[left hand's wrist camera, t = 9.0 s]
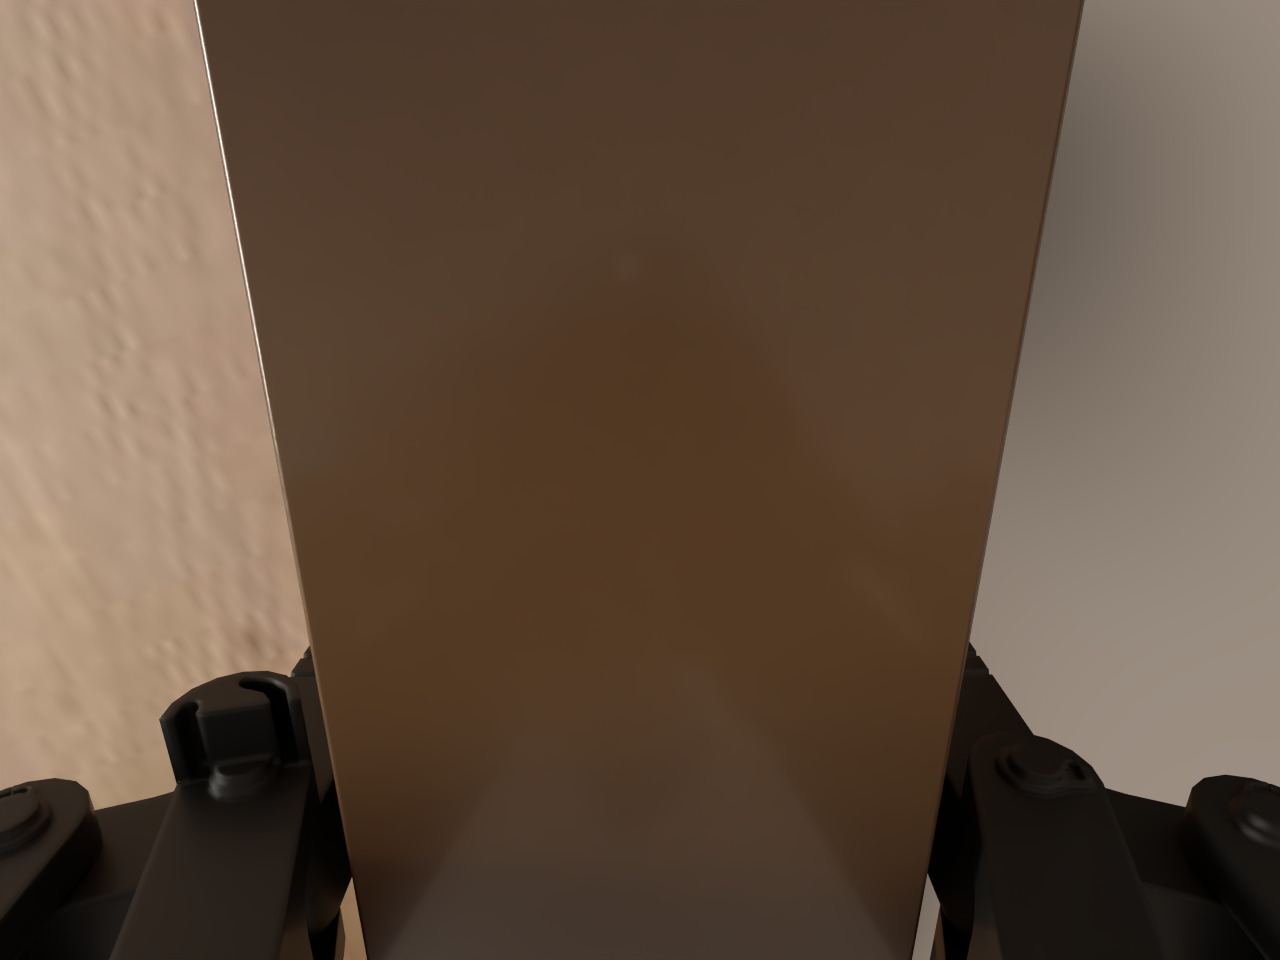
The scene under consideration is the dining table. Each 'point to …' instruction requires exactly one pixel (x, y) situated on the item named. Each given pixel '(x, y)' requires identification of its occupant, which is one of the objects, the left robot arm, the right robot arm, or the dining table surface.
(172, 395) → the dining table surface
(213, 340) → the dining table surface
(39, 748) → the dining table surface
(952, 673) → the bar
